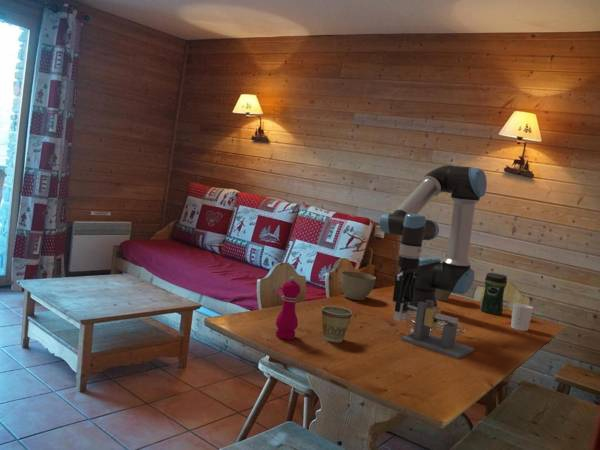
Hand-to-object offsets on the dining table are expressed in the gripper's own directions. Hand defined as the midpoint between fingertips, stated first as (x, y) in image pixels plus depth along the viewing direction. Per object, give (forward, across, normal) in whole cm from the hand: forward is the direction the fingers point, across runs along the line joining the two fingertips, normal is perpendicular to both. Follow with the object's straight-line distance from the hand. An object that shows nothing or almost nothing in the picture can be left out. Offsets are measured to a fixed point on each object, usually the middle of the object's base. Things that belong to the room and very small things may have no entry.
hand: (400, 319), depth 194 cm
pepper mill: (+5, -42, +19) cm, 46 cm away
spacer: (-1, 0, -12) cm, 12 cm away
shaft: (-3, 0, -10) cm, 10 cm away
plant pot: (+5, +76, +18) cm, 78 cm away
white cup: (+5, +59, -26) cm, 65 cm away
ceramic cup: (+5, -28, +8) cm, 30 cm away
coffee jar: (+5, +76, -8) cm, 77 cm away
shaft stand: (+5, 0, -15) cm, 16 cm away
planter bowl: (+5, +31, +39) cm, 50 cm away
